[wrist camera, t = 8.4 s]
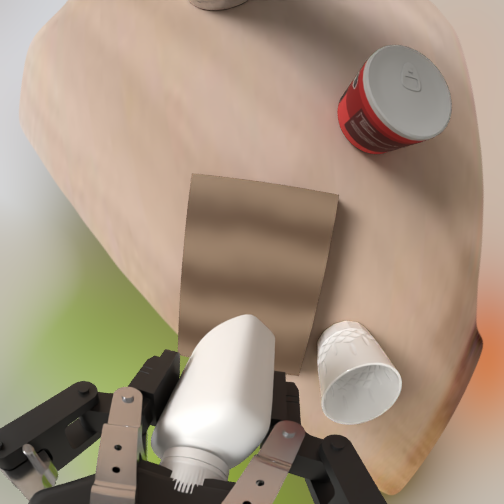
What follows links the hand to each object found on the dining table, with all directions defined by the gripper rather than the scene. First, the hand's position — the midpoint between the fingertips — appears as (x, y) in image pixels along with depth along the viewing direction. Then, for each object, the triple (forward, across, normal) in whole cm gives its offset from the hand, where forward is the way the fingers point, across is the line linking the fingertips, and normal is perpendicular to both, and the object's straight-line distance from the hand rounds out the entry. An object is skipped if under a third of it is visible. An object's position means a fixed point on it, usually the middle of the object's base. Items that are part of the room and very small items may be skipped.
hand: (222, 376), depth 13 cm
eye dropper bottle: (+3, 0, 0) cm, 3 cm away
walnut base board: (+18, 0, 0) cm, 18 cm away
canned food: (+18, -10, -19) cm, 28 cm away
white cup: (+18, -12, +7) cm, 23 cm away
